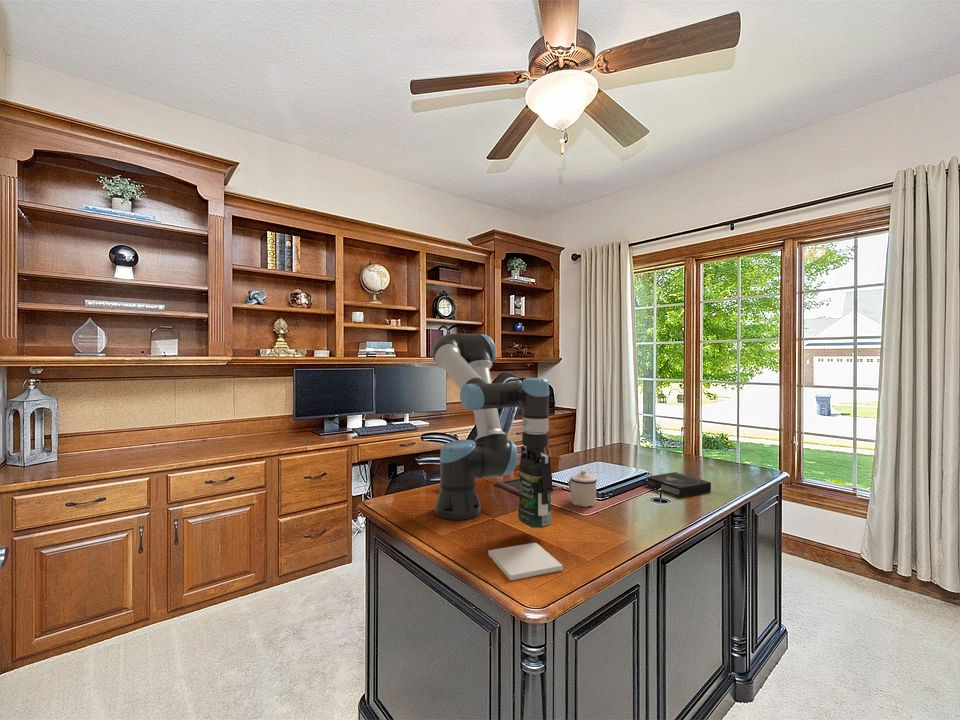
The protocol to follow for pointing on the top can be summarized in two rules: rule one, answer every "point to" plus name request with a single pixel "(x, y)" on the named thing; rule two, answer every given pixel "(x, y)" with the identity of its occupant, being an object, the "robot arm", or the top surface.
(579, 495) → the teacup with lid
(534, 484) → the coffee jar
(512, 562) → the coaster board
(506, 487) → the picture frame
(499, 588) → the top surface
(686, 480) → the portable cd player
